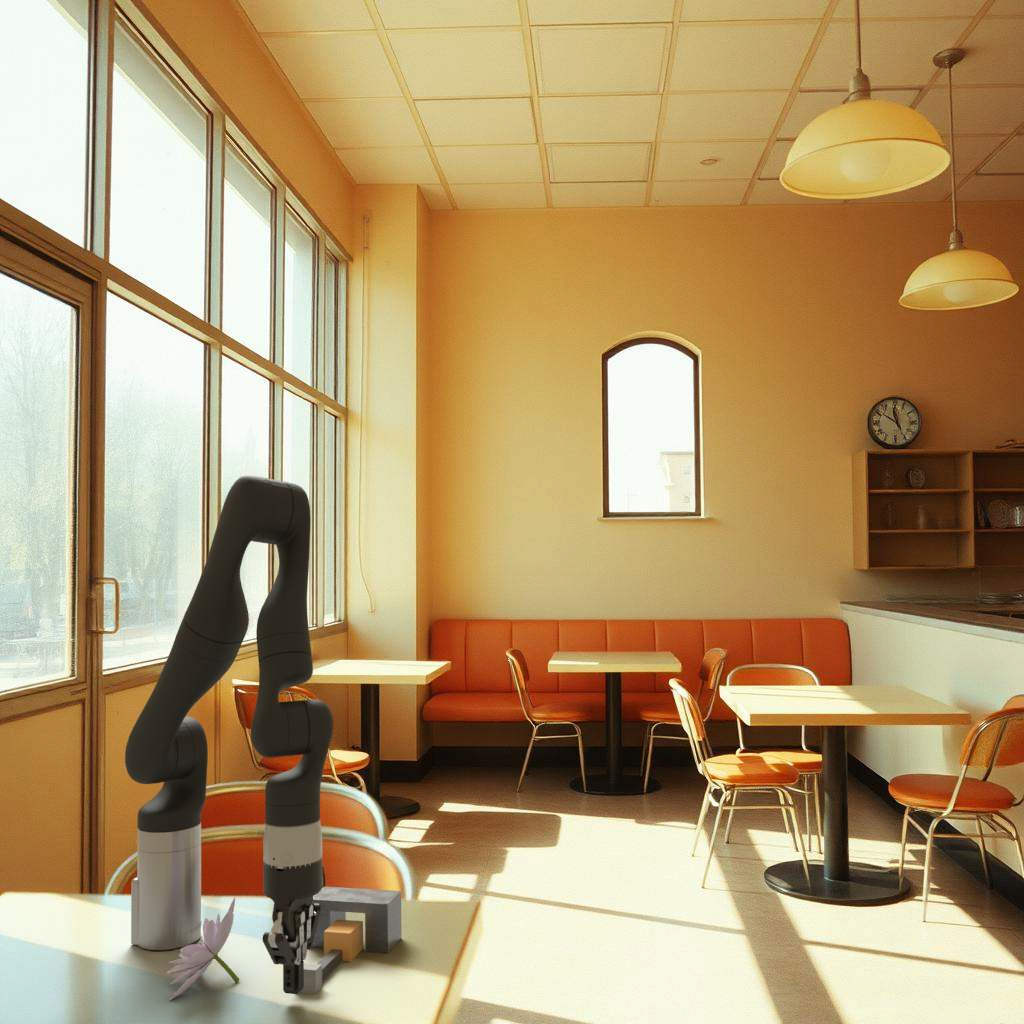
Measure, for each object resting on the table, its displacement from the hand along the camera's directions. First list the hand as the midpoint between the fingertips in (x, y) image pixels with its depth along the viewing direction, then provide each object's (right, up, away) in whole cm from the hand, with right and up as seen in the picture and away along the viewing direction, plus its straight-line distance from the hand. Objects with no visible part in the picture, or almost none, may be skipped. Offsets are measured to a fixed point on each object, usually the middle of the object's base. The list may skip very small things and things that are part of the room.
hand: (293, 991), depth 130 cm
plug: (+3, -2, +11) cm, 11 cm away
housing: (+5, -3, +20) cm, 21 cm away
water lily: (-14, -2, +7) cm, 16 cm away
